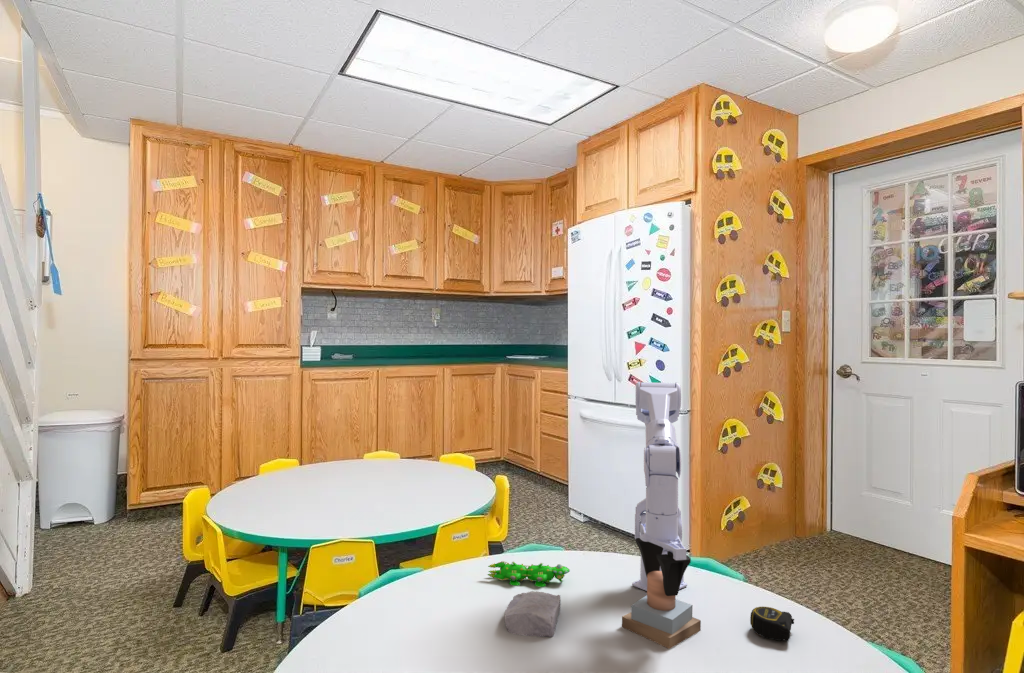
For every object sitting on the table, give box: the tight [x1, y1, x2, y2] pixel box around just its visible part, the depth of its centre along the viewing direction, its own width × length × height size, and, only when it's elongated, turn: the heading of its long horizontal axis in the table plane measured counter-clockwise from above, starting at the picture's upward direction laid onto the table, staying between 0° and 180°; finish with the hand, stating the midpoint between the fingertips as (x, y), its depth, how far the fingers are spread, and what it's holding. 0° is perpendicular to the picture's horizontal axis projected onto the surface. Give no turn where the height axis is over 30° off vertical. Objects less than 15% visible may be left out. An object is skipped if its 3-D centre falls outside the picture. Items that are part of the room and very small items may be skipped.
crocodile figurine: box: [487, 560, 571, 588], centre depth 122 cm, size 7×18×4 cm, turn 85°
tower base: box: [621, 611, 702, 650], centre depth 102 cm, size 10×10×2 cm
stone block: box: [504, 590, 562, 638], centre depth 104 cm, size 12×5×10 cm
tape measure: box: [749, 606, 795, 642], centre depth 100 cm, size 7×7×4 cm
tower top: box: [630, 594, 693, 634], centre depth 102 cm, size 8×8×2 cm
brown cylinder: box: [646, 571, 676, 611], centre depth 102 cm, size 5×5×5 cm
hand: (661, 586), depth 102 cm, fingers open, 7 cm apart
